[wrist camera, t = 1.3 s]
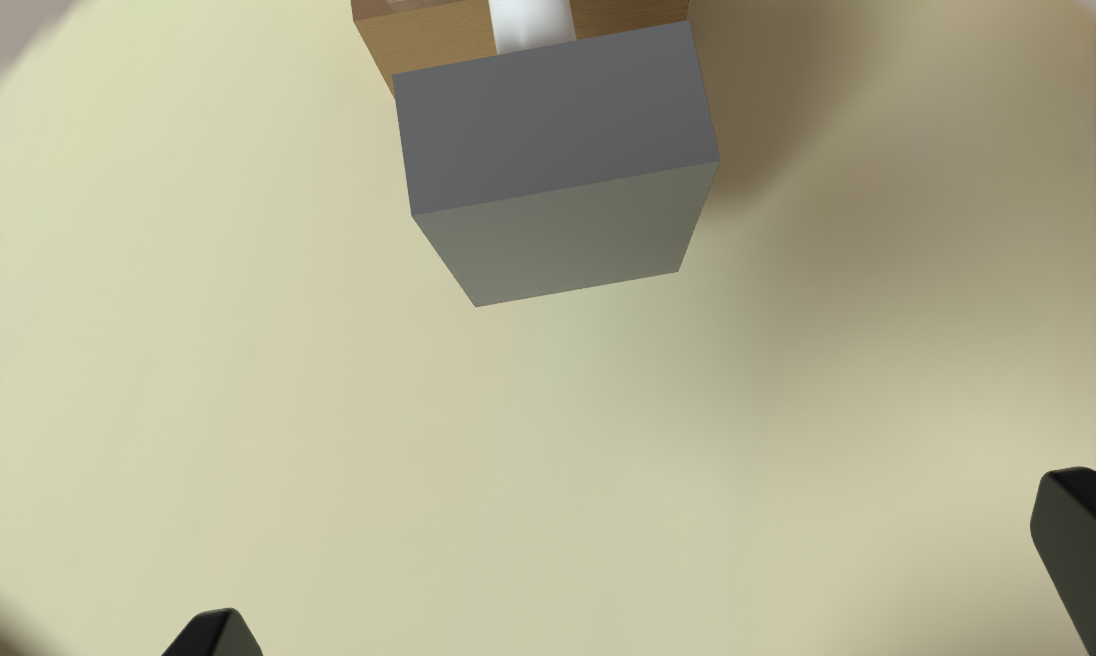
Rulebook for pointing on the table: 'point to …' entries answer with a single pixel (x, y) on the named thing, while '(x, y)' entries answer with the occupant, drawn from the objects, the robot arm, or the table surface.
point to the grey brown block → (480, 28)
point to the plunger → (558, 154)
